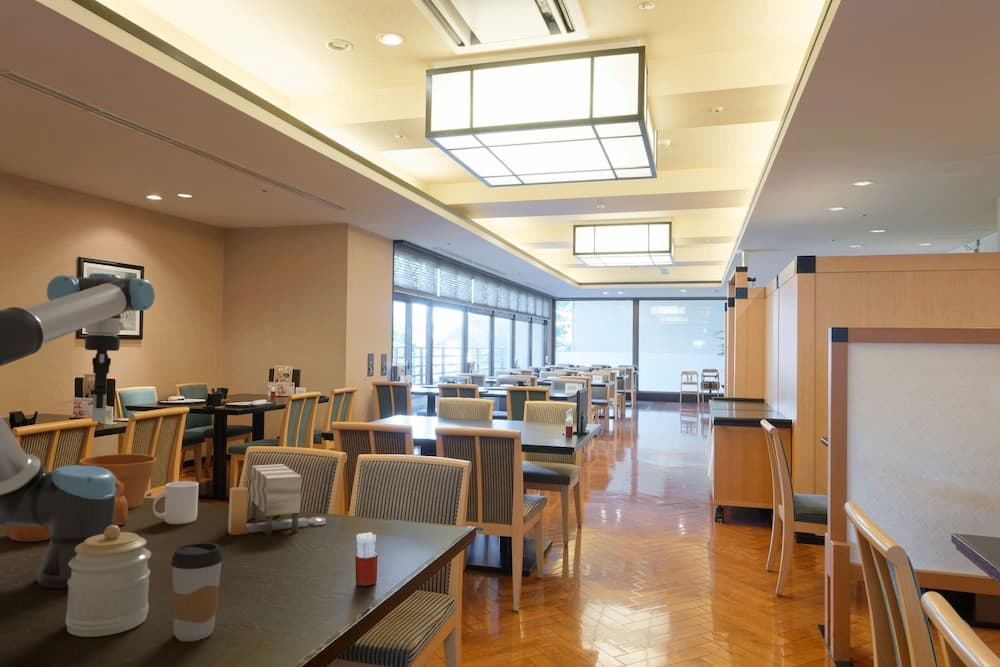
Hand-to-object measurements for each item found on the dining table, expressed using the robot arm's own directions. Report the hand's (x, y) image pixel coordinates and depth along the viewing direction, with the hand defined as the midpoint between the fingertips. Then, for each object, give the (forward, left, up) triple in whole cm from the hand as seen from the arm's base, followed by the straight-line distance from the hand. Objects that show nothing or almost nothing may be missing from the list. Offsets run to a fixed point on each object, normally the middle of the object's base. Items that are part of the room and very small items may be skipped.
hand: (98, 419), depth 166 cm
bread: (+19, +5, -32) cm, 38 cm away
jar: (-55, -3, -32) cm, 64 cm away
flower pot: (+45, -6, -32) cm, 56 cm away
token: (-2, -56, -32) cm, 64 cm away
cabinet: (+2, -45, -32) cm, 55 cm away
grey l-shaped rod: (-2, -42, -32) cm, 53 cm away
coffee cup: (-67, -16, -32) cm, 76 cm away
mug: (+17, -20, -32) cm, 41 cm away
